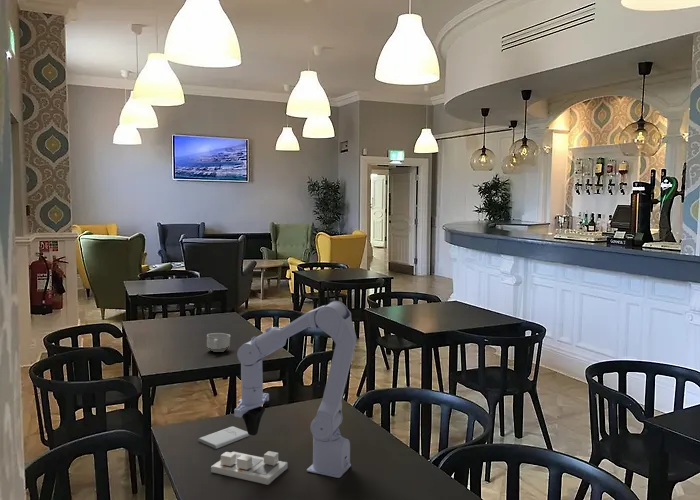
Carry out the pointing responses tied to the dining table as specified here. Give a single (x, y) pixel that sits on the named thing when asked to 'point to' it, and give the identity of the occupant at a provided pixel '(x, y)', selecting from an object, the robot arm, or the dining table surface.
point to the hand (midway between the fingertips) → (252, 434)
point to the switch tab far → (228, 458)
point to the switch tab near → (271, 458)
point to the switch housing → (252, 470)
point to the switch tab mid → (244, 462)
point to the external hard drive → (223, 437)
